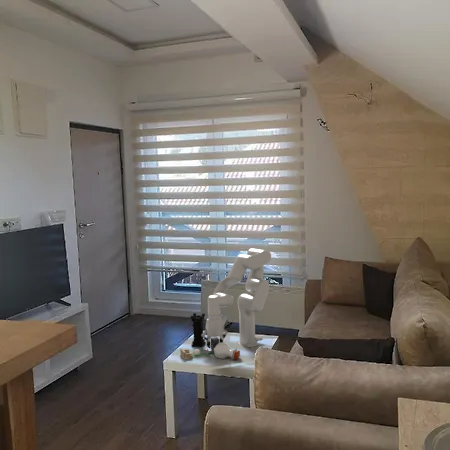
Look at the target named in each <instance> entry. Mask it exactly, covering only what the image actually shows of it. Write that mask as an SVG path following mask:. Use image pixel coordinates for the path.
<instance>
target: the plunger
mask: <svg viewBox="0 0 450 450" xmlns="http://www.w3.org/2000/svg"><path fill="white" fill-rule="evenodd" d="M218 343H220V338H218V336H216V337H211V338H210V349H208V347H207V346H203V347H202V352H204V354H205V355H207V354H208V353H213V354H214V347H215V346H216V344H218Z"/></svg>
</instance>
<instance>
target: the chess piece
mask: <svg viewBox="0 0 450 450" xmlns="http://www.w3.org/2000/svg"><path fill="white" fill-rule="evenodd" d="M205 316H206V313H202V314H201V315H199V314H198V315H197V312H195V313H193V314H192V315H190V319H191V322H192V327H193V331H192V332H193V340H192V342H191V344H190V345H191V347H193V348H203V347H205V345H206V344H207V341H206V340H205V339H204V338H203V337H202V336H201V335H202V334H203V333H204V324H205V323H204V320H205Z"/></svg>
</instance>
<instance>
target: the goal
mask: <svg viewBox="0 0 450 450" xmlns="http://www.w3.org/2000/svg"><path fill="white" fill-rule="evenodd" d="M179 349H180V351H179V352H180V355H181V356H182V357H181V356H180V355H179V356H180V357H181V358H182V359H183V360H184V361H185V359H186V360H190V359H191V360H192V359H194V358H193V353H194V352H190V349H189V348H185V349H184V348H183V347H181V348H179Z"/></svg>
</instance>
